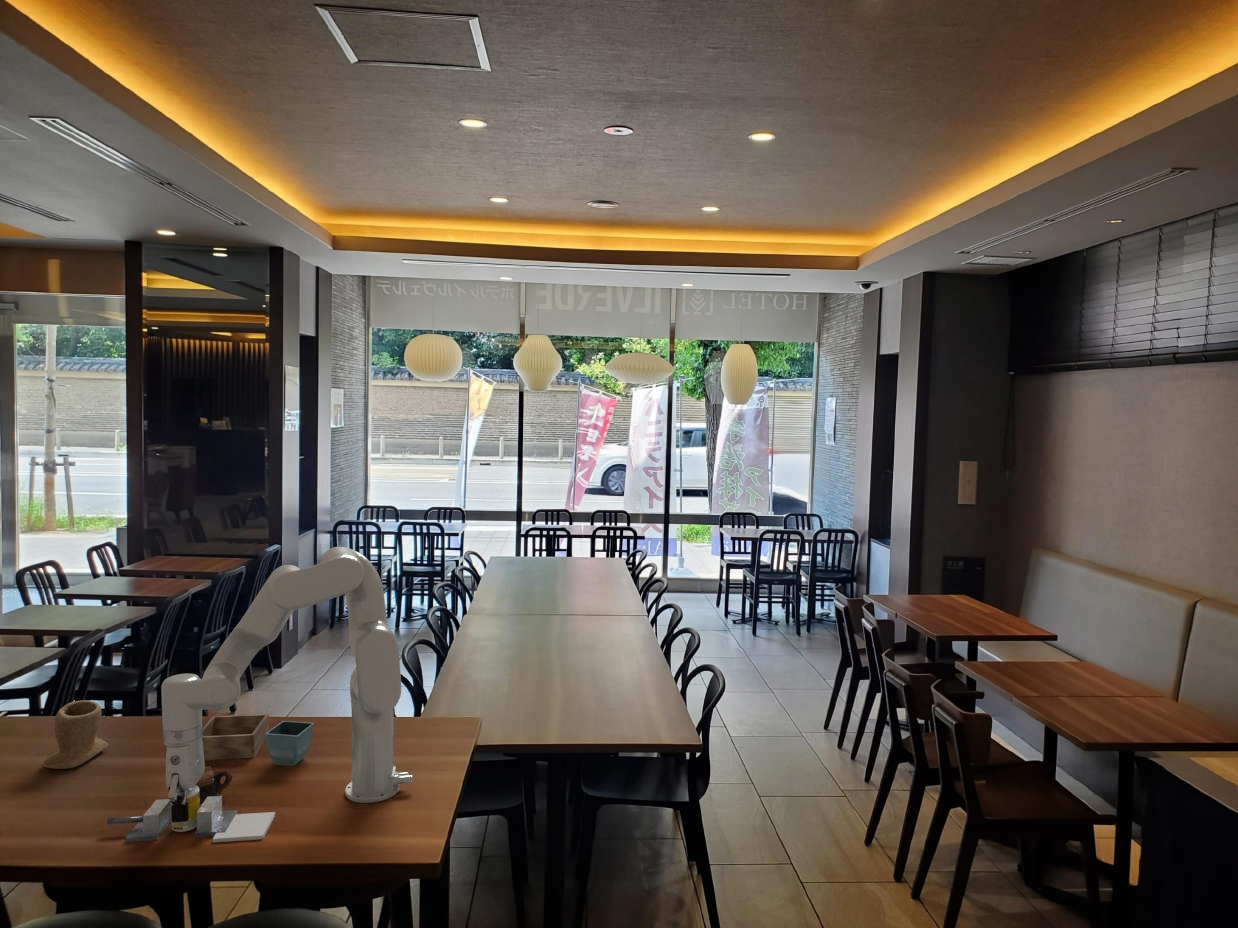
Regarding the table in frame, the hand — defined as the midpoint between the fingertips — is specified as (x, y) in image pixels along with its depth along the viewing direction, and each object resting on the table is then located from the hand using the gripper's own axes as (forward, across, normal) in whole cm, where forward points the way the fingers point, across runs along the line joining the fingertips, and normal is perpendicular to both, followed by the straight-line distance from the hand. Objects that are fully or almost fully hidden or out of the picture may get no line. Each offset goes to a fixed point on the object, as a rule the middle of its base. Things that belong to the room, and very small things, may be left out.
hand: (185, 812), depth 174 cm
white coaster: (+3, -2, -13) cm, 13 cm away
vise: (+3, 0, +3) cm, 4 cm away
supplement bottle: (+3, 0, 0) cm, 3 cm away
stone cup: (+3, +39, +38) cm, 55 cm away
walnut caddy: (+3, +42, +2) cm, 42 cm away
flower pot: (+4, +31, -15) cm, 34 cm away
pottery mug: (+4, +14, +1) cm, 14 cm away
